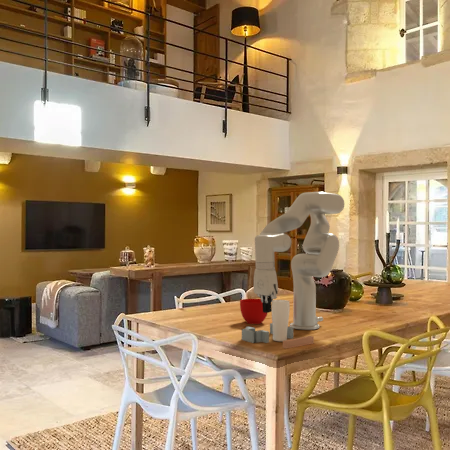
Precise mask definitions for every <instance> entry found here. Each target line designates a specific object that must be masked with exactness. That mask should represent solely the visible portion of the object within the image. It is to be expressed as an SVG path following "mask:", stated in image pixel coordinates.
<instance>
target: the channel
mask: <svg viewBox="0 0 450 450" xmlns="http://www.w3.org/2000/svg"><path fill="white" fill-rule="evenodd" d="M270 335H273V327H272V323H269V331H268V330H265V329H259V330H256V328H255V327H252V326H246V327H245V328H243V329H242V328H241V340H242V341H245V342H248V343H251V344H255V343H256V344H257V343H265V344H267V343H270ZM314 340H315V339H314V336H312V335H309V336H303V337H297V338H294V328H292V327H290V326H288V330H287V340H284V341H282V348H283V349H291V348H296V347H297V348H298V347H301V346H307V345H313V344H314Z"/></svg>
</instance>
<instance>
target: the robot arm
mask: <svg viewBox="0 0 450 450" xmlns="http://www.w3.org/2000/svg"><path fill="white" fill-rule="evenodd" d="M344 209H345V200H344V198H343V196H341V195H340V194H337V193H331V192H324V191H313V192H311V191H310V192H302V193H300V194H299V195H298V196H297V197H296V199H295V200H294V201H293V203H292V204H291V206H289V208H288V209H287V210H286V212H285V213H283V214H281V215H280V216H278V217H276V218H275V219H273V220H272V221H270V222H269V223H267V225H265V226H264V227H263V229H262V230H261V232H260V233H259V235H256V236H255V237H254V255H255V256H254V257H255V269H254V272H253V293H254V294H255V295H256V296H257V297H259V299H261V302H263V303H262V304H263V312H264V313H267V314H268V313H272V300H277V298H278V297H277V295H278V292H279V284H278V277H277V272H276V264H275V263H276V261H275V260H276V259H275V252H279V253H280V252H281V253H283V252H287V251H289V249H290V248H291V246H292V238H291V237H290V236H289V234H286V233H287V232H290V231H294V230H296V229H299V228H300V227H301V226H303V224H304V223H305V221H306V220H307V218H308V217H309V216H310V225H309V228H308V231H307V233H306V235H305V236H304V237H305V238H304V240H303V243H302V250H303V252H305V253H298V254H296V255H294V256H293V257H292V259H291V262H290V268H291V271H292V272H291V273H292V279H293V280H292V283H293V284H292V285H293V300H292V301H293V304H292V305H293V310H292V312H293V319H292V320H293V322H291V323H290V322H289V327H292V328H293V330H294V329H295V330H303V331H312V330H317V329H320V324H319V322H323V321H324V317H323V316H317V315H316V314H317V312H316V311H317V310H316V309H317V307H316V305H317V294H316V293H317V286H316V285H317V284H316V283H315V279H314V278H313V277H315V278H325V277H327V276H329V274H330V272H331V271H332V269H333V266H334V263H335V261H336V258H337V256H338V252H339V249H340V241H339V238H338V236H336V234H334V233H330V227H331V226H330V223H329V221H328V219H327V217H326V215H330V214H331V215H334V214H335V215H336V214H337V215H338V214H340V213H341V212H343V211H344Z"/></svg>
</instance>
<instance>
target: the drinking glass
mask: <svg viewBox="0 0 450 450" xmlns="http://www.w3.org/2000/svg"><path fill="white" fill-rule="evenodd" d="M290 306H291V305H290V300H287V299H273V300H272V302H271V310H272V311H271V322H272V327H273V334H272V340H273V342H274V341H275V342H282V343H283V341H284V340H288V338H287V330H288V327H289V321H290V318H289V317H290Z"/></svg>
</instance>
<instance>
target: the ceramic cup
mask: <svg viewBox="0 0 450 450" xmlns="http://www.w3.org/2000/svg"><path fill="white" fill-rule="evenodd" d="M262 303H263V302H261V298H244V299H240V300H239V308H240V313H241V316H242V318H243V319H244V321H245V322H246V324H247V325H248V324H249V325H261V324H262V323H263V322H264V321H265V320H266V318H267V316H268V313H264V312H263V304H262Z"/></svg>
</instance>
